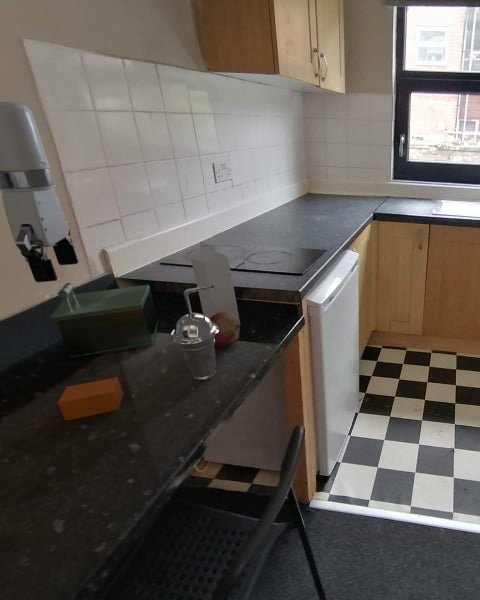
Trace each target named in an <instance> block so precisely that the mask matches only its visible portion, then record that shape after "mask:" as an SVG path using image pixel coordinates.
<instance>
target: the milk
mask: <svg viewBox="0 0 480 600" xmlns="http://www.w3.org/2000/svg"><path fill="white" fill-rule="evenodd" d="M199 246H200V248H199V249H197V251H196V252H195V253H193V255H191V256H190V260H191V265H192V270H193V274H194V279H195V283H196V288H197V287H202V286H207V285H213V287H214V288H211V289H206V290H201V291H197V292H198V297H199V301H200V305H201V310H202V314H204V315H205V316H207V317H208V318H210V317H211V316H213V315H215V314H217V313H221V312H228V313H230V314H233V315H235V316H236V317H237V318H238V320H239V326H241V321H240V315H239V309H238V304H237V298H236V293H235V288H234V282H233V277H232V270H231V265H230V259H229V255H228V254H225V253H221V252H219V251H216V248H215V245H214V244H211V243H207V242H204V241H199Z"/></svg>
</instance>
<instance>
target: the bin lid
mask: <svg viewBox="0 0 480 600" xmlns="http://www.w3.org/2000/svg"><path fill="white" fill-rule="evenodd" d="M75 288H76V287H75V284H74V283H73V282H66V283H65V284H64V285H63V286H62V287H61V289H60V290H58V292H57V297H58V298H61V299H62V300H63V301H62V302H61V303H60V304H59V305H58V307H57V308H56V309H55V311H53V313H52V314H51V315H50V316H49V320H50V321H56V320H59V319H66V318H73V317H80V316H87V315H94V314H101V313H108V312H115V311H122V310H129V309H136V308H142V306H143V304H144V301H145V298H146V296H147V293H148V291H149V288H150V289H151V287H150V285H149V284H145V285H144V284H143V285H137V286H128V287H121V288H113V289H112V288H111V289H105V290H97V291H90V292H82V293H74V290H75Z"/></svg>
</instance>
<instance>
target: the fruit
mask: <svg viewBox="0 0 480 600" xmlns="http://www.w3.org/2000/svg"><path fill="white" fill-rule="evenodd" d="M209 319H210V320H211V321H212V322H214V323H216V324H217V327H218V329H219V330H218V332H217V334H216V335H215V347H220V348H227V347H230V346H232V345H234V344H235V343H236V342H237V341H238V339H239V338H240V334H241V333H240V331H241V330H240V325H239V320H240V319H239V320H238V318H237V317H236V316H235V315H233V314H230V313H228V312H221V313H217V314H215V315H213V316H211V317H210V318H209Z"/></svg>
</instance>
